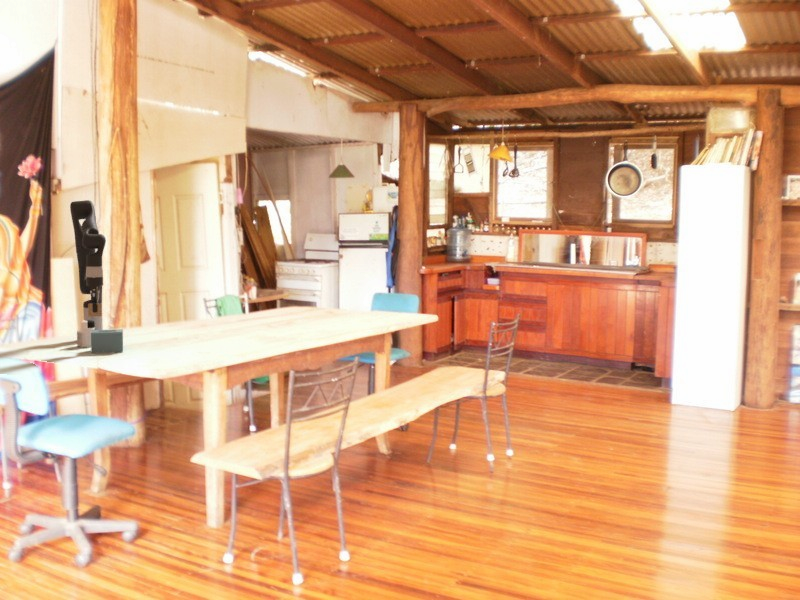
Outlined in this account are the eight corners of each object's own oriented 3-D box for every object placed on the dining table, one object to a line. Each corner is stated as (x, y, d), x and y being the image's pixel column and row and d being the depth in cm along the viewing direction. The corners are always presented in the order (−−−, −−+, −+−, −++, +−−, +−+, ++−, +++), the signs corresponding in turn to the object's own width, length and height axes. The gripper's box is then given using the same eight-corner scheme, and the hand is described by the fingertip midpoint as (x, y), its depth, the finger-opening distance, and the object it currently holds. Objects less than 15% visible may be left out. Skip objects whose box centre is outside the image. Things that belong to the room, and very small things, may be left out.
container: (91, 344, 417) (90, 319, 416) (99, 346, 412) (98, 320, 411) (76, 346, 411) (76, 320, 410) (85, 347, 406) (84, 321, 405)
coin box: (92, 350, 399) (92, 330, 398) (123, 349, 403) (122, 329, 402) (91, 353, 390) (90, 332, 389) (122, 352, 394) (122, 332, 393)
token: (88, 315, 393) (88, 303, 393) (102, 315, 395) (101, 303, 394) (88, 316, 392) (88, 303, 391) (101, 316, 393) (101, 303, 393)
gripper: (87, 275, 397) (88, 310, 399) (84, 276, 384) (85, 313, 386) (104, 275, 399) (104, 310, 401) (101, 276, 386) (102, 313, 388)
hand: (95, 311), depth 393 cm, fingers closed on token, 1 cm apart
